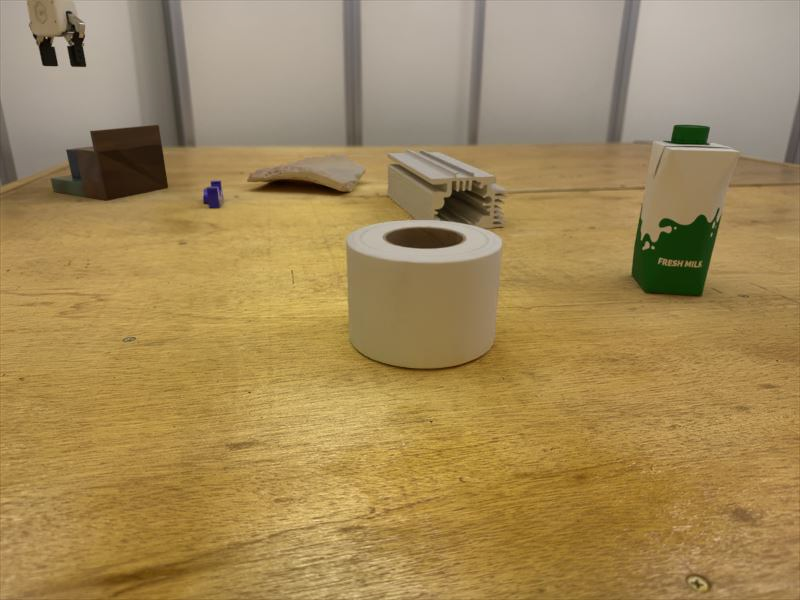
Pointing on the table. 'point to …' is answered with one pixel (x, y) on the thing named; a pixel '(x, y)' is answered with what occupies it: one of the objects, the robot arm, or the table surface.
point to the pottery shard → (315, 172)
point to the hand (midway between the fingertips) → (64, 66)
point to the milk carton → (681, 211)
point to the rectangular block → (74, 162)
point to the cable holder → (213, 194)
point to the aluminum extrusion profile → (444, 189)
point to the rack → (117, 164)
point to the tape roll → (423, 292)
